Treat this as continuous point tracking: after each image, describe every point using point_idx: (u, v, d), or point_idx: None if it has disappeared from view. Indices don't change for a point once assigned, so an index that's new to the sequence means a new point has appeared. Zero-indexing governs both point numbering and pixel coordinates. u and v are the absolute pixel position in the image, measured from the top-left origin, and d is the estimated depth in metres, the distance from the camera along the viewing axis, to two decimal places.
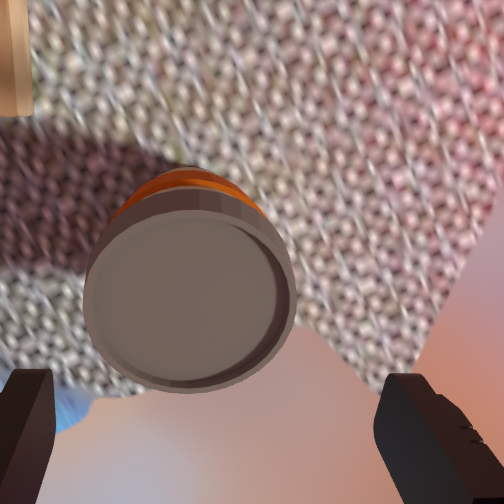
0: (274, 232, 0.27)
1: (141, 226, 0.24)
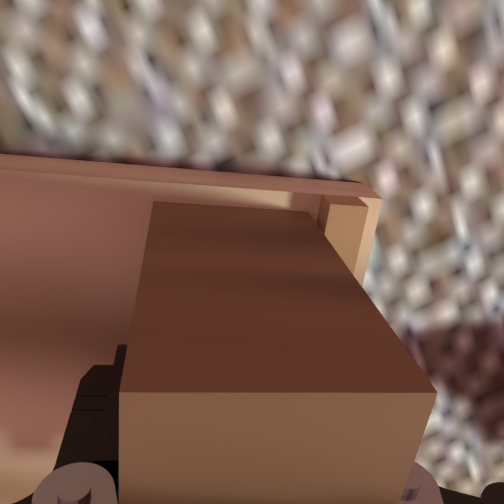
0: None
1: None
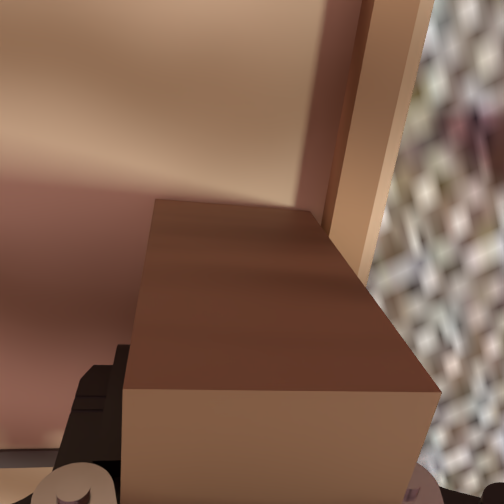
0: None
1: None
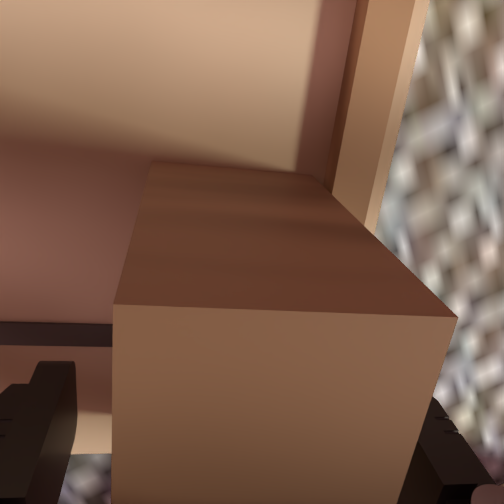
0: None
1: None
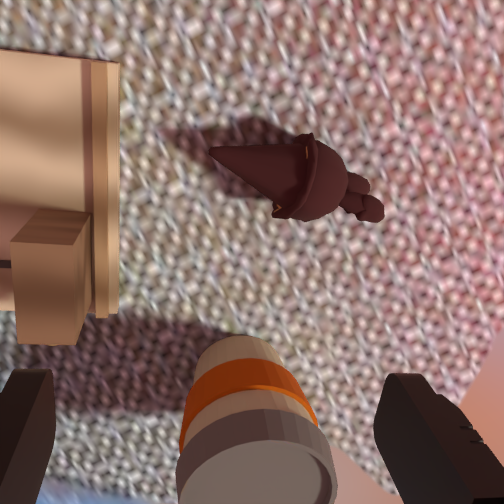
0: (320, 437, 0.36)
1: (226, 452, 0.33)
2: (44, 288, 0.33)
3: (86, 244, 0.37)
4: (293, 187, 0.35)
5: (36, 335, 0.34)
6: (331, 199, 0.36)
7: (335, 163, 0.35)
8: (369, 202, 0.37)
